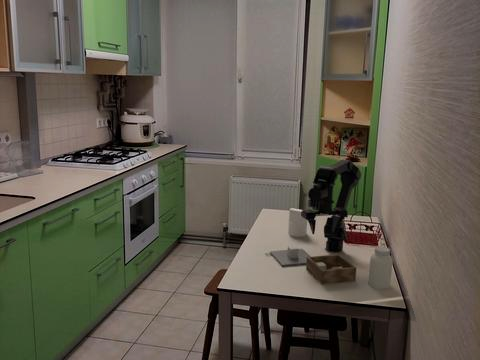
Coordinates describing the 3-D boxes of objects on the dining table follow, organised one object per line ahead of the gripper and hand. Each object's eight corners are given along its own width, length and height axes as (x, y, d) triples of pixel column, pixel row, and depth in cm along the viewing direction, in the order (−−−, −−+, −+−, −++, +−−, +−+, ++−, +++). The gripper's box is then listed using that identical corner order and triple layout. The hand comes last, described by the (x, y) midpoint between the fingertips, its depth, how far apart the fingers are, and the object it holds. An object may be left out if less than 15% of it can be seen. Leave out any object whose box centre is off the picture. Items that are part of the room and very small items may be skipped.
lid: (302, 251, 206) (302, 240, 205) (316, 264, 192) (317, 252, 191) (269, 253, 202) (270, 242, 201) (282, 267, 188) (282, 255, 187)
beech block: (340, 273, 182) (341, 266, 182) (345, 278, 178) (346, 270, 178) (331, 274, 181) (331, 267, 180) (336, 279, 177) (336, 271, 177)
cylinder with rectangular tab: (309, 233, 231) (310, 209, 229) (301, 238, 224) (303, 214, 221) (293, 229, 236) (294, 206, 233) (285, 234, 229) (286, 210, 226)
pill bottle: (386, 293, 168) (390, 254, 165) (364, 287, 172) (368, 249, 169) (392, 285, 175) (396, 247, 172) (371, 280, 179) (374, 243, 176)
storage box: (337, 268, 190) (338, 254, 188) (355, 282, 176) (356, 267, 175) (306, 271, 186) (306, 257, 185) (321, 286, 173) (322, 271, 171)
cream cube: (321, 270, 185) (322, 261, 184) (325, 273, 182) (326, 265, 181) (313, 271, 184) (314, 262, 183) (317, 274, 181) (318, 266, 180)
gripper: (337, 191, 201) (334, 225, 205) (296, 193, 196) (295, 228, 200) (349, 197, 191) (347, 234, 194) (307, 200, 186) (305, 237, 189)
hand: (323, 233), depth 195 cm, fingers open, 9 cm apart
